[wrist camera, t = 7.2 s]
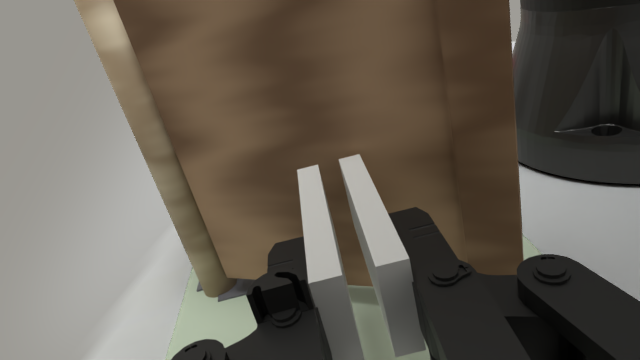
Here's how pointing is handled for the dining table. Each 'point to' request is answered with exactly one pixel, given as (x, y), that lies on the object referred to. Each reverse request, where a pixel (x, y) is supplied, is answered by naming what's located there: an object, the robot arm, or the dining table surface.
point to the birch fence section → (153, 140)
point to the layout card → (238, 322)
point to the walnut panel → (338, 117)
